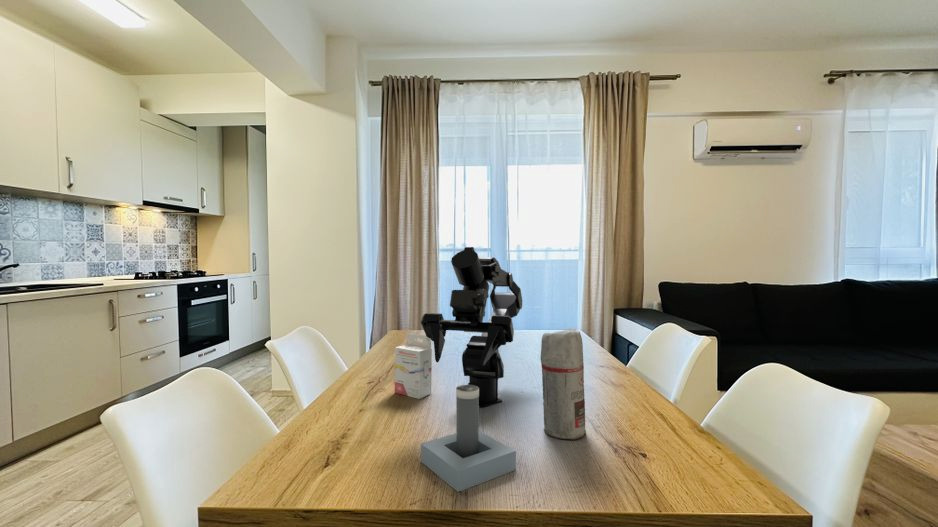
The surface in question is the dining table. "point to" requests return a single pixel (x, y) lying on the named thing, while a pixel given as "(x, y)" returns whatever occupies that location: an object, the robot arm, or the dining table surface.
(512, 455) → the socket
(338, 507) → the dining table surface
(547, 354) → the spray can
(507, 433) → the dining table surface
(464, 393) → the peg
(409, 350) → the ink cartridge box
